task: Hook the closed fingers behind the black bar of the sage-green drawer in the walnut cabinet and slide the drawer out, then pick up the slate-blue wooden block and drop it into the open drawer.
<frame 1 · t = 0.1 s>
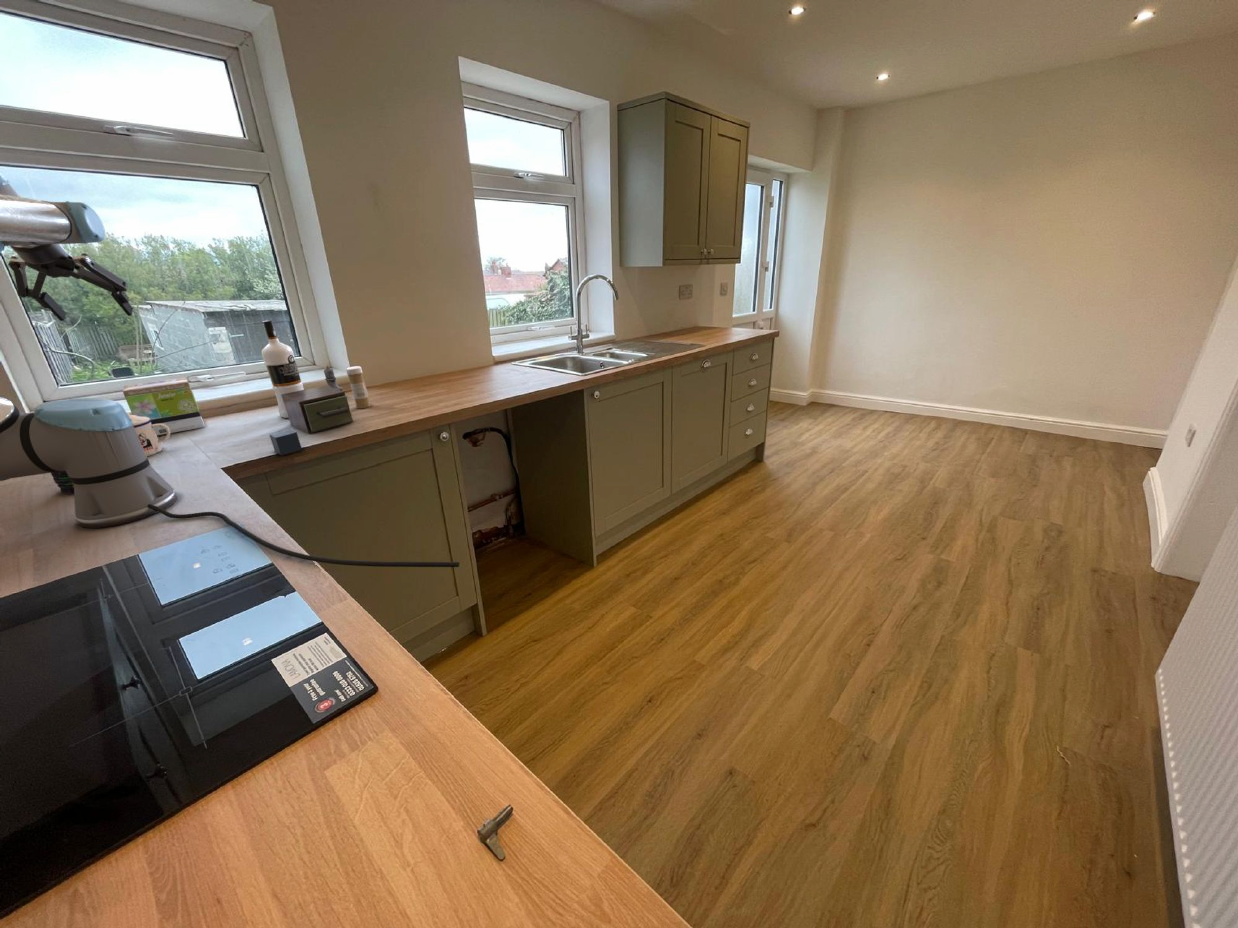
hand: (97, 314, 127), 36 cm above the worktop, tool tilted 35°, fingers open, 13 cm apart
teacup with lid: (149, 453, 137), on the worktop
vodka: (297, 415, 165), on the worktop
sprinkles bottle: (363, 407, 169), on the worktop
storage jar: (91, 486, 117), on the worktop
tea box: (175, 430, 155), on the worktop
grey figurine: (336, 399, 181), on the worktop
drawer: (324, 411, 149), point 5 cm above the worktop, slide at 1.0 cm
block: (288, 450, 133), on the worktop
cabinet: (321, 423, 154), on the worktop
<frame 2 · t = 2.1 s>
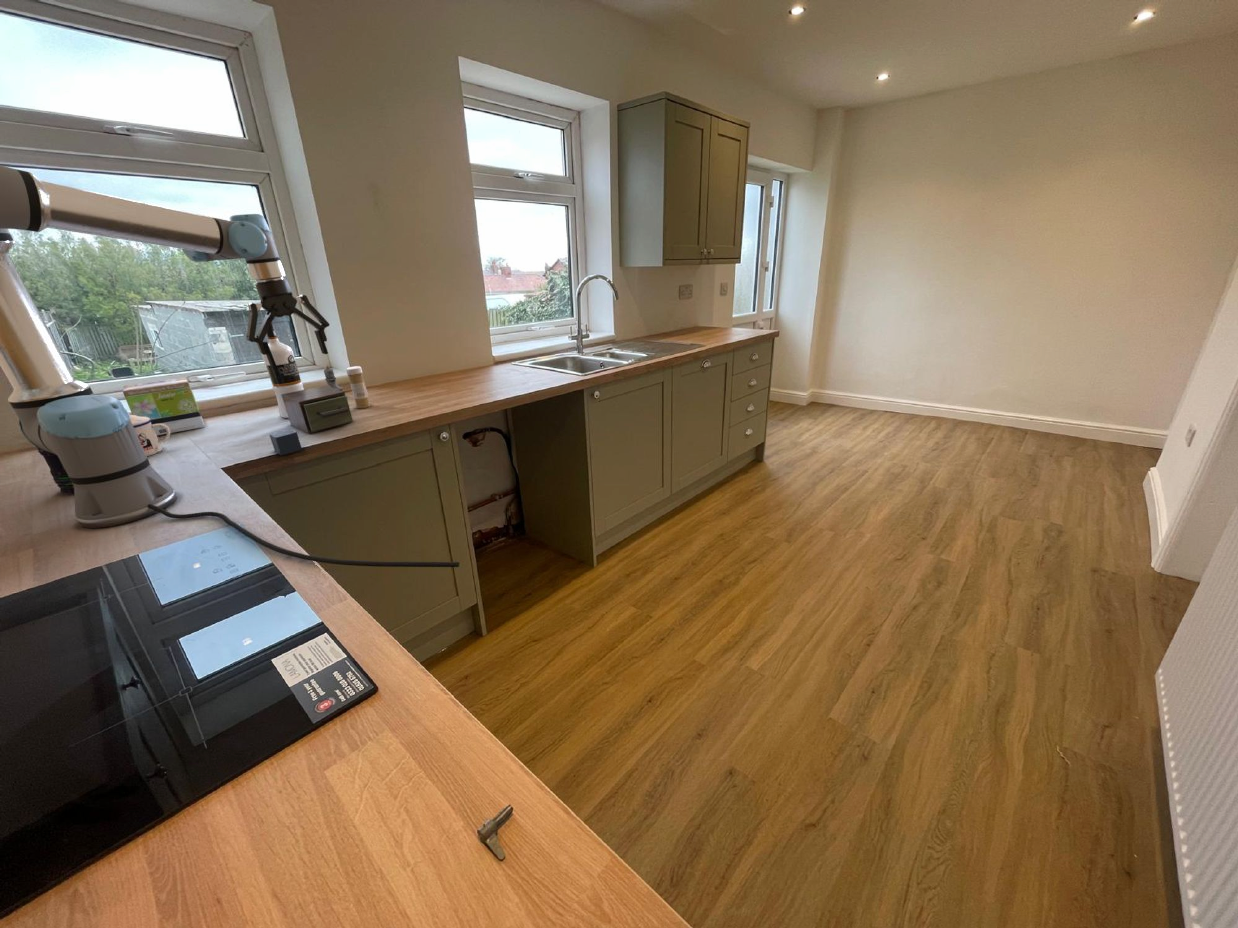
hand: (300, 359, 141), 21 cm above the worktop, tool pointing down, fingers open, 13 cm apart
nothing on the worktop moved.
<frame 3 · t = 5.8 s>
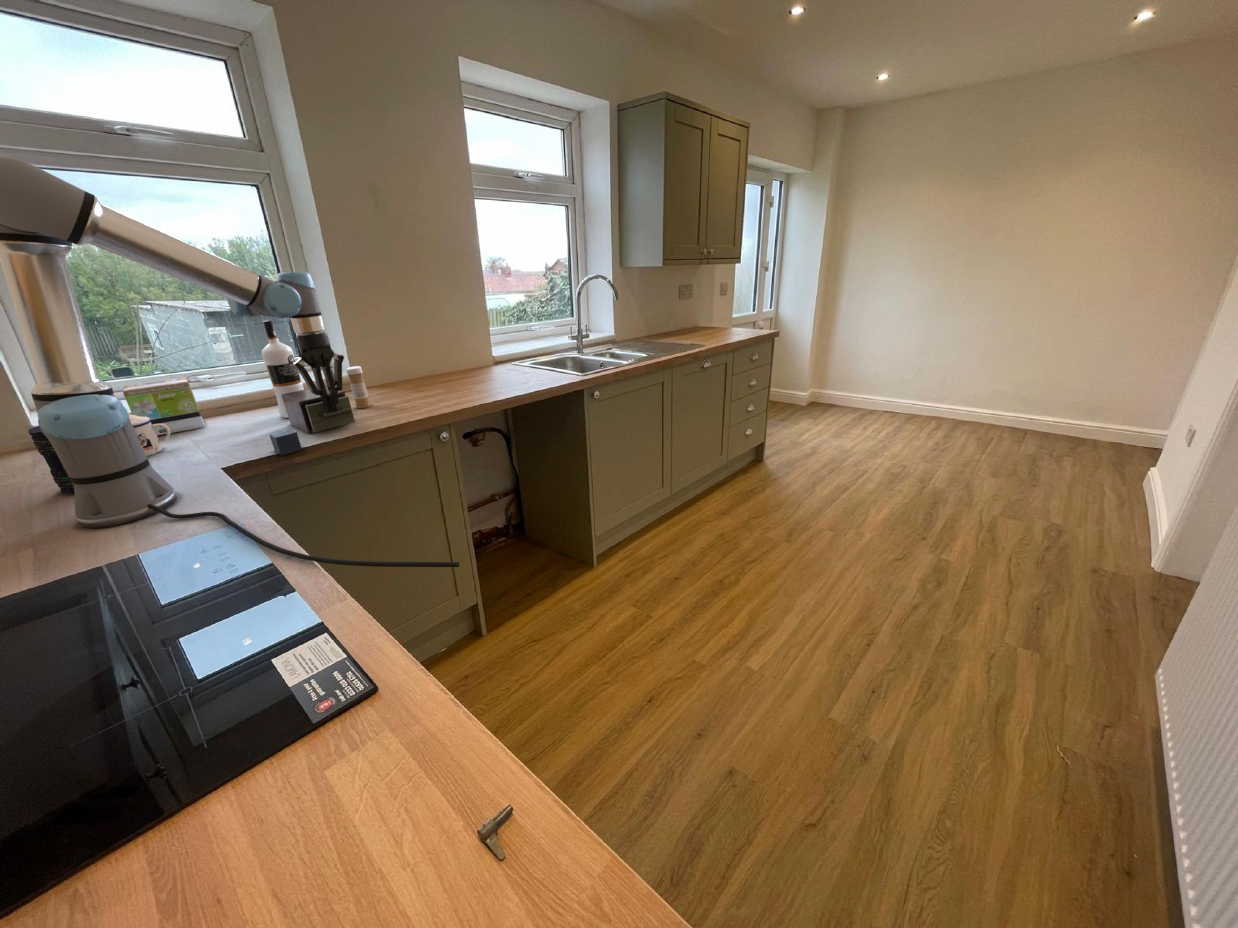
hand: (334, 416, 144), 5 cm above the worktop, tool pointing down, fingers closed
drawer: (325, 412, 148), point 5 cm above the worktop, slide at 2.4 cm
everything else where it was.
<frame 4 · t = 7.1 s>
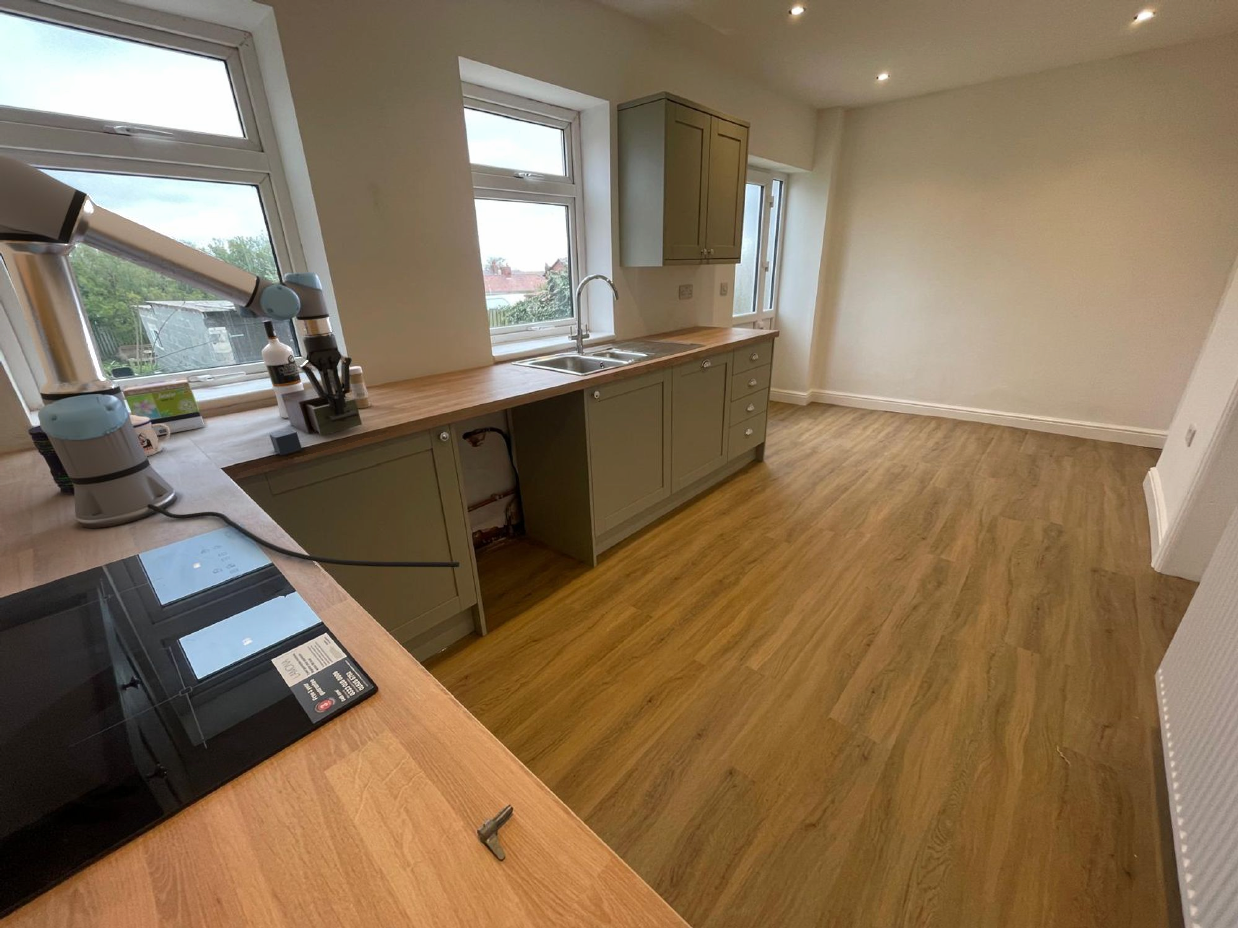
hand: (341, 419, 142), 4 cm above the worktop, tool pointing down, fingers closed
drawer: (332, 414, 145), point 5 cm above the worktop, slide at 7.2 cm, touching gripper
everything else where it was.
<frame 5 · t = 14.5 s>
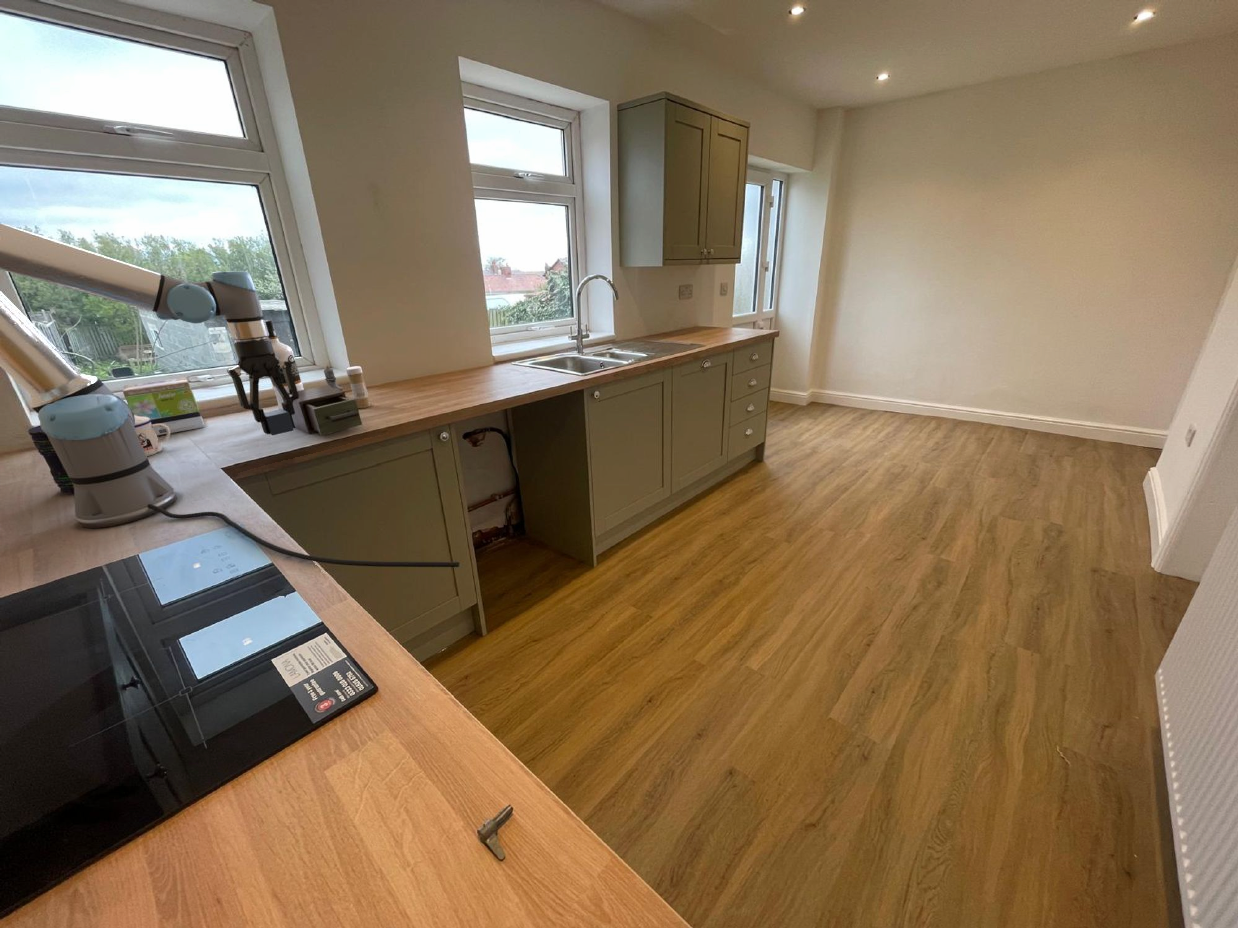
hand: (279, 429, 130), 6 cm above the worktop, tool pointing down, fingers closed on block, 5 cm apart
drawer: (332, 414, 145), point 5 cm above the worktop, slide at 7.3 cm
block: (280, 431, 130), point 6 cm above the worktop, touching gripper
everything else where it was.
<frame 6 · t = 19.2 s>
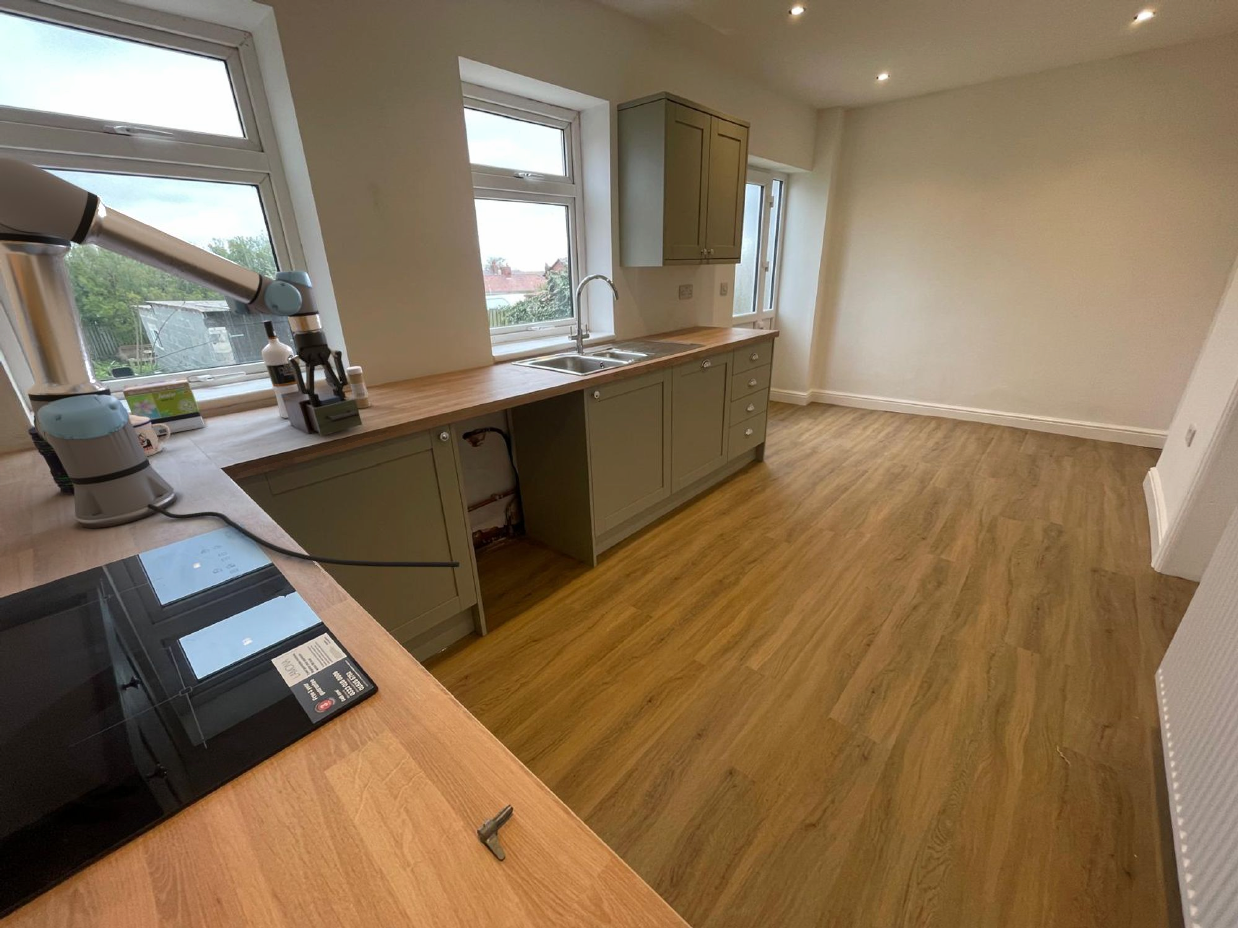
hand: (331, 413, 145), 5 cm above the worktop, tool pointing down, fingers closed on block, 5 cm apart
block: (331, 414, 145), point 5 cm above the worktop, touching gripper
everything else where it was.
when the fingers open (8 cm above the worktop, at t = 30.9 s): block drops 6 cm, resting on drawer.
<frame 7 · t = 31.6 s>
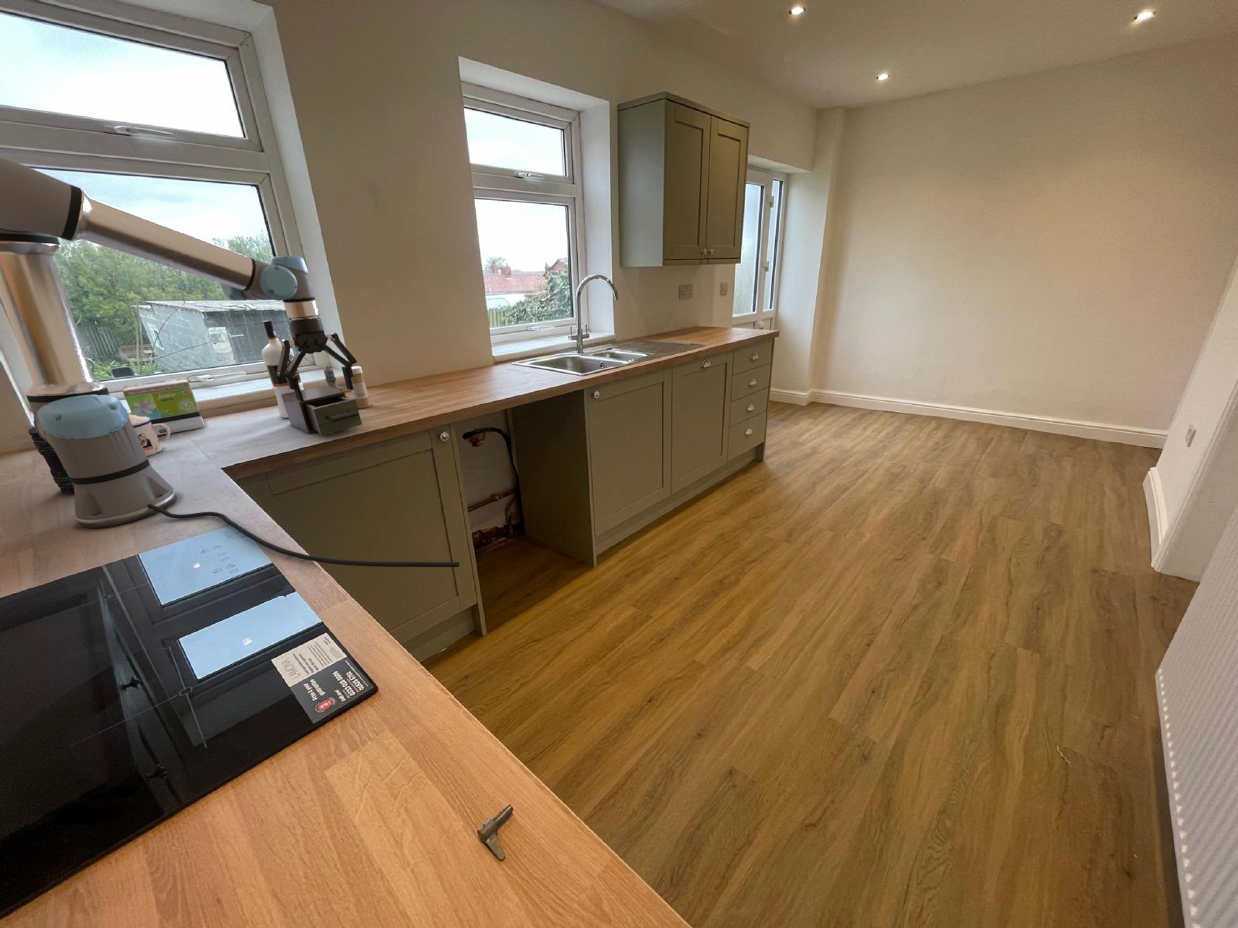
hand: (326, 394, 143), 11 cm above the worktop, tool pointing down, fingers open, 13 cm apart
drawer: (332, 414, 145), point 5 cm above the worktop, slide at 7.3 cm, touching block
block: (333, 423, 146), point 2 cm above the worktop, touching drawer
everything else where it was.
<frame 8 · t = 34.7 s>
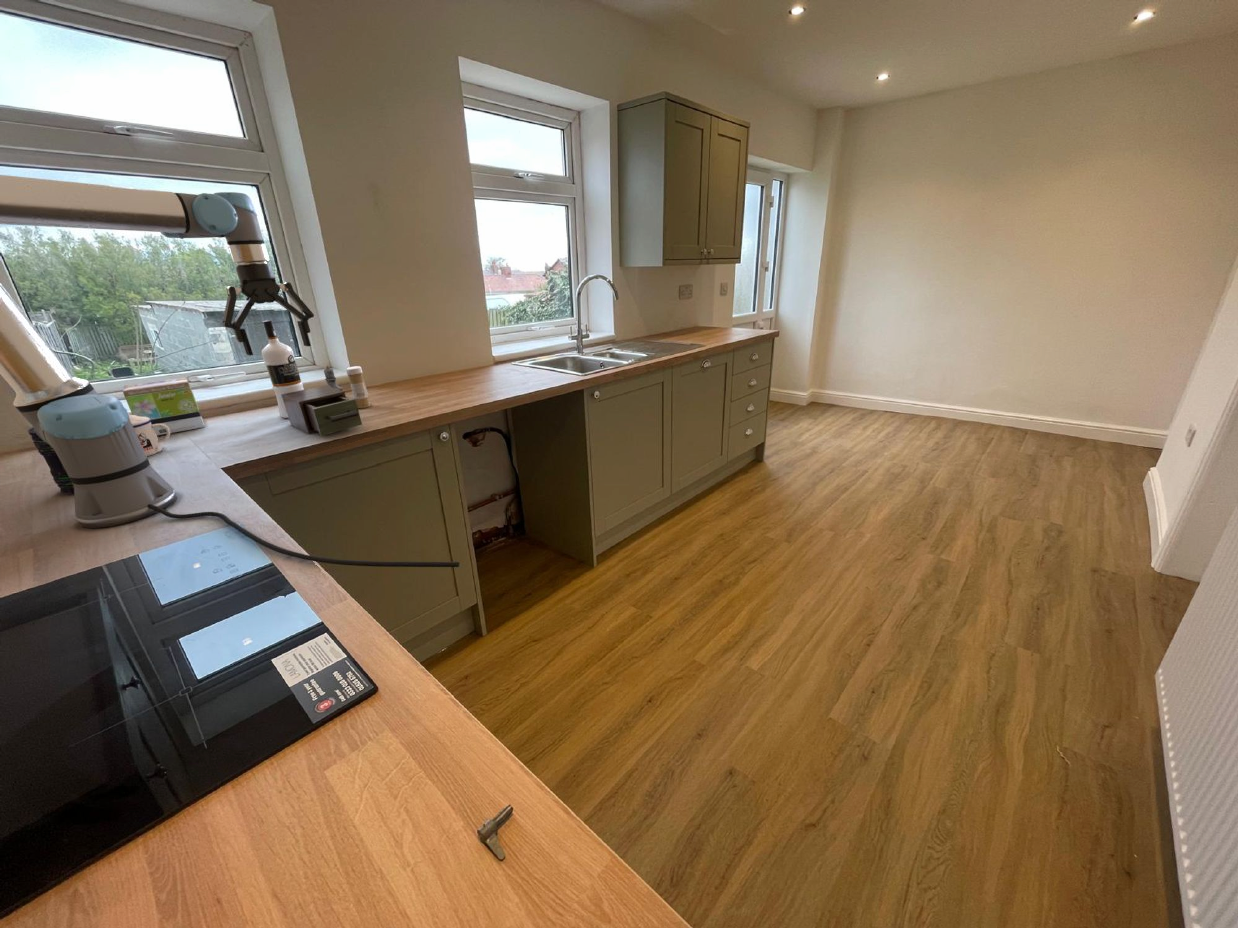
hand: (279, 350, 132), 25 cm above the worktop, tool pointing down, fingers open, 13 cm apart
nothing on the worktop moved.
at the end: drawer slide at 7.3 cm; block inside the target area in the cabinet (6.0 cm from its centre), point 2.0 cm above the cabinet's base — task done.
